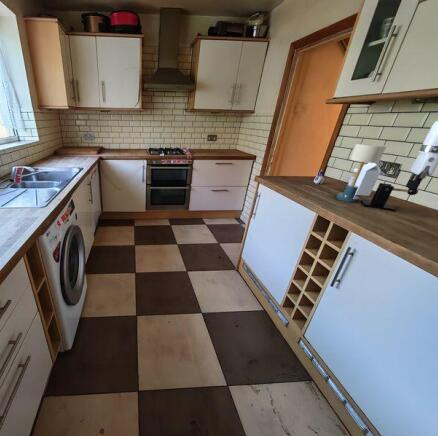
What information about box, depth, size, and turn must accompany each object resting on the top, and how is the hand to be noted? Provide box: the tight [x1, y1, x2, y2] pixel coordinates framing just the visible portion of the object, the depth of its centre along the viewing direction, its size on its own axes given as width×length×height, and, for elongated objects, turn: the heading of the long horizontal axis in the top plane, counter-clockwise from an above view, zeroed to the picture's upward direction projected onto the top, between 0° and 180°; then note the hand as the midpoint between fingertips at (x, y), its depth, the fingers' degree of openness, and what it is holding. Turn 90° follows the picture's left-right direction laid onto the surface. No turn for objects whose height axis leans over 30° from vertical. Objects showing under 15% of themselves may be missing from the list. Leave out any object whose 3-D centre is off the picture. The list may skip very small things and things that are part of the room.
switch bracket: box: [359, 182, 396, 212], centre depth 118 cm, size 12×9×12 cm
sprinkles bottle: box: [347, 167, 359, 185], centre depth 144 cm, size 5×5×13 cm
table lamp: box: [335, 142, 387, 203], centre depth 123 cm, size 12×12×30 cm
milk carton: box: [355, 162, 381, 197], centre depth 135 cm, size 7×7×19 cm
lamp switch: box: [392, 187, 419, 196], centre depth 114 cm, size 13×4×4 cm, turn 58°
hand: (410, 187), depth 112 cm, fingers closed
